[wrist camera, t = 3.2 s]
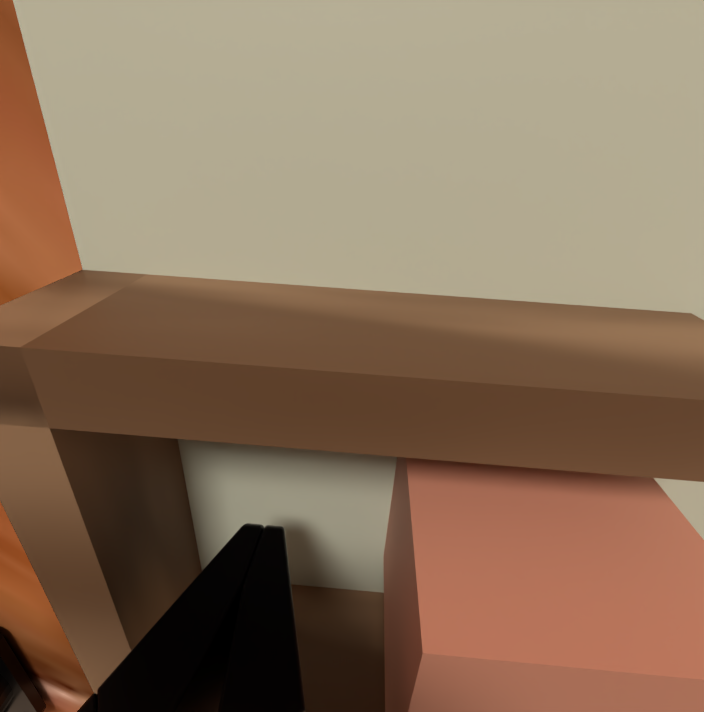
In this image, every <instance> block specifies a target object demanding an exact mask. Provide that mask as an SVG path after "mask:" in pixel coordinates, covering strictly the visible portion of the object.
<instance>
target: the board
mask: <svg viewBox="0 0 704 712" xmlns="http://www.w3.org/2000/svg"><path fill="white" fill-rule="evenodd" d="M13 2H14V6H15V10H16V14H17V17H18V21H19V25H20V29H21V33H22V37H23V41H24V44H25V48H26V52H27V56H28V60H29V64H30V68H31V71H32V75H33V79H34V83H35V87H36V91H37V95H38V98H39V102H40V106H41V110H42V114H43V118H44V122H45V125H46V129H47V133H48V137H49V141H50V145H51V149H52V152H53V156H54V160H55V164H56V168H57V172H58V176H59V179H60V183H61V187H62V191H63V195H64V199H65V203H66V206H67V210H68V214H69V218H70V222H71V226H72V230H73V233H74V237H75V241H76V245H77V249H78V253H79V257H80V260H81V264H82V268H83V270H94V271H108V272H122V273H136V274H150V275H164V276H178V277H192V278H206V279H220V280H233V281H247V282H261V283H275V284H289V285H303V286H317V287H331V288H345V289H359V290H373V291H387V292H401V293H415V294H429V295H443V296H457V297H471V298H485V299H499V300H513V301H527V302H541V303H555V304H569V305H583V306H597V307H611V308H625V309H639V310H653V311H667V312H681V313H692V314H694V315H695V316H697V317H699V318H701V319H703V320H704V0H13ZM178 444H179V450H180V455H181V461H182V466H183V471H184V477H185V482H186V488H187V493H188V498H189V504H190V509H191V515H192V520H193V525H194V531H195V536H196V542H197V547H198V552H199V558H200V563H201V569H202V570H203V569H204V568H205V567H206V566H207V565H208V564H209V563H210V561H211V560H212V559H213V558H214V557H215V556H216V555H217V554H218V552H219V551H220V550H221V549H222V548H223V547H224V546H225V545H226V543H227V542H228V541H229V540H230V539H231V538H232V537H233V536H234V534H235V533H236V532H237V531H238V530H239V529H240V528H241V527H242V526H243V525H244V524H246V523H251V524H261V525H263V526H264V527H265V526H266V525H274V526H282V527H284V530H285V537H286V546H287V554H288V563H289V572H290V580H291V584H294V585H305V586H316V587H327V588H338V589H349V590H360V591H371V592H382V593H384V559H383V556H384V549H385V542H386V534H387V527H388V520H389V513H390V506H391V498H392V491H393V484H394V477H395V470H396V462H397V457H393V456H381V455H369V454H356V453H344V452H332V451H320V450H308V449H296V448H283V447H271V446H259V445H247V444H235V443H222V442H210V441H198V440H186V439H178ZM654 479H655V481H656V482H657V483H658V484H659V485H660V487H661V488H662V489H663V490H664V492H665V493H666V494H667V495H668V497H669V498H670V499H671V500H672V501H673V503H674V504H675V505H676V506H677V508H678V509H679V510H680V511H681V513H682V514H683V515H684V516H685V517H686V519H687V520H688V521H689V522H690V524H691V525H692V526H693V527H694V529H695V530H696V531H697V532H698V533H699V535H700V536H701V537H702V538H703V540H704V482H697V481H685V480H673V479H661V478H654Z"/></svg>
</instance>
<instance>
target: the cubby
mask: <svg viewBox="0 0 704 712" xmlns="http://www.w3.org/2000/svg"><path fill="white" fill-rule="evenodd" d="M178 439H186V440H198V441H210V442H222V443H235V444H247V445H259V446H271V447H283V448H296V449H308V450H320V451H332V452H344V453H356V454H369V455H381V456H393V457H405V458H417V459H429V460H442V461H454V462H466V463H478V464H490V465H503V466H515V467H527V468H539V469H551V470H563V471H576V472H588V473H600V474H612V475H624V476H636V477H649V478H661V479H673V480H685V481H697V482H704V320H703V319H701V318H699V317H697V316H695V315H694V314H692V313H681V312H667V311H653V310H639V309H625V308H611V307H597V306H583V305H569V304H555V303H541V302H527V301H513V300H499V299H485V298H471V297H457V296H443V295H429V294H415V293H401V292H387V291H373V290H359V289H345V288H331V287H317V286H303V285H289V284H275V283H261V282H247V281H233V280H220V279H206V278H192V277H178V276H164V275H150V274H136V273H122V272H108V271H94V270H81V271H79V272H77V273H74V274H72V275H70V276H67V277H65V278H63V279H60V280H58V281H56V282H54V283H51V284H49V285H47V286H44V287H42V288H40V289H37V290H35V291H33V292H31V293H28V294H26V295H24V296H21V297H19V298H17V299H15V300H12V301H10V302H8V303H5V304H3V305H1V306H0V501H1V503H2V505H3V507H4V509H5V512H6V514H7V516H8V518H9V520H10V522H11V524H12V526H13V528H14V530H15V532H16V534H17V536H18V538H19V540H20V542H21V544H22V546H23V548H24V550H25V553H26V555H27V557H28V559H29V561H30V563H31V565H32V567H33V569H34V571H35V573H36V575H37V577H38V579H39V581H40V583H41V585H42V587H43V589H44V592H45V594H46V596H47V598H48V600H49V602H50V604H51V606H52V608H53V610H54V612H55V614H56V616H57V618H58V620H59V622H60V624H61V626H62V628H63V630H64V633H65V635H66V637H67V639H68V641H69V643H70V645H71V647H72V649H73V651H74V653H75V655H76V657H77V659H78V661H79V663H80V665H81V667H82V669H83V671H84V674H85V676H86V678H87V680H88V682H89V684H90V686H91V688H92V690H93V692H94V693H96V694H97V690H98V688H99V687H100V686H101V684H102V683H103V682H104V681H105V680H106V679H107V678H108V676H109V675H110V674H111V673H112V672H113V671H114V670H115V669H116V667H117V666H118V665H119V664H120V663H121V662H122V661H123V660H124V658H125V657H126V656H127V655H128V654H129V653H130V652H131V651H132V649H133V648H134V647H135V646H136V645H137V644H138V643H139V642H140V640H141V639H142V638H143V637H144V636H145V635H146V634H147V633H148V631H149V630H150V629H151V628H152V627H153V626H154V625H155V623H156V622H157V621H158V620H159V619H160V618H161V617H162V616H163V614H164V613H165V612H166V611H167V610H168V609H169V608H170V607H171V605H172V604H173V603H174V602H175V601H176V600H177V599H178V598H179V596H180V595H181V594H182V593H183V592H184V591H185V590H186V589H187V587H188V586H189V585H190V584H191V583H192V582H193V581H194V579H195V578H196V577H197V576H198V575H199V574H200V573H201V572H202V569H201V563H200V558H199V552H198V547H197V542H196V536H195V531H194V525H193V520H192V515H191V509H190V504H189V498H188V493H187V488H186V482H185V477H184V471H183V466H182V461H181V455H180V450H179V444H178ZM291 589H292V597H293V606H294V615H295V623H296V632H297V641H298V649H299V658H300V667H301V675H302V684H303V692H304V701H305V712H385V654H384V593H382V592H371V591H360V590H349V589H338V588H327V587H316V586H305V585H294V584H291Z"/></svg>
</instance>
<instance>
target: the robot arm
mask: <svg viewBox="0 0 704 712" xmlns="http://www.w3.org/2000/svg"><path fill="white" fill-rule="evenodd" d="M45 708H46V705H45V703H44V701H43V700H42V698H41V697H40V695H39V693H38V692H37V690H36V688H35V687H34V685H33V684H32V682H31V680H30V679H29V677H28V675H27V674H26V672H25V671H24V669H23V667H22V666H21V664H20V663H19V661H18V659H17V658H16V656H15V654H14V653H13V651H12V650H11V648H10V646H9V645H8V643H7V641H6V640H5V638H4V637H3V635H2V634H1V633H0V712H43V711H44V709H45ZM77 712H305V701H304V692H303V684H302V675H301V667H300V658H299V649H298V641H297V632H296V623H295V615H294V606H293V597H292V589H291V580H290V572H289V563H288V554H287V546H286V537H285V530H284V527H282V526H274V525H266V526H265V527H264V526H263V525H261V524H251V523H246V524H244V525H243V526H242V527H241V528H240V529H239V530H238V531H237V532H236V533H235V534H234V536H233V537H232V538H231V539H230V540H229V541H228V542H227V543H226V545H225V546H224V547H223V548H222V549H221V550H220V551H219V552H218V554H217V555H216V556H215V557H214V558H213V559H212V560H211V561H210V563H209V564H208V565H207V566H206V567H205V568H204V569H203V570H202V572H201V573H200V574H199V575H198V576H197V577H196V578H195V579H194V581H193V582H192V583H191V584H190V585H189V586H188V587H187V589H186V590H185V591H184V592H183V593H182V594H181V595H180V596H179V598H178V599H177V600H176V601H175V602H174V603H173V604H172V605H171V607H170V608H169V609H168V610H167V611H166V612H165V613H164V614H163V616H162V617H161V618H160V619H159V620H158V621H157V622H156V623H155V625H154V626H153V627H152V628H151V629H150V630H149V631H148V633H147V634H146V635H145V636H144V637H143V638H142V639H141V640H140V642H139V643H138V644H137V645H136V646H135V647H134V648H133V649H132V651H131V652H130V653H129V654H128V655H127V656H126V657H125V658H124V660H123V661H122V662H121V663H120V664H119V665H118V666H117V667H116V669H115V670H114V671H113V672H112V673H111V674H110V675H109V676H108V678H107V679H106V680H105V681H104V682H103V683H102V684H101V686H100V687H99V688H98V690H97V694H96V693H94V694H92V695H91V696H90V698H89V699H88V700H87V701H86V702H85V703H84V704H83V706H82V707H81V708H80V709H79V710H78V711H77Z"/></svg>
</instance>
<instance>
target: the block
mask: <svg viewBox="0 0 704 712" xmlns="http://www.w3.org/2000/svg"><path fill="white" fill-rule="evenodd" d="M383 559H384V654H385V712H704V540H703V538H702V537H701V536H700V535H699V533H698V532H697V531H696V530H695V529H694V527H693V526H692V525H691V524H690V522H689V521H688V520H687V519H686V517H685V516H684V515H683V514H682V513H681V511H680V510H679V509H678V508H677V506H676V505H675V504H674V503H673V501H672V500H671V499H670V498H669V497H668V495H667V494H666V493H665V492H664V490H663V489H662V488H661V487H660V485H659V484H658V483H657V482H656V481H655V479H654V478H649V477H636V476H624V475H612V474H600V473H588V472H576V471H563V470H551V469H539V468H527V467H515V466H503V465H490V464H478V463H466V462H454V461H442V460H429V459H417V458H405V457H397V462H396V470H395V477H394V484H393V491H392V498H391V506H390V513H389V520H388V527H387V534H386V542H385V549H384V556H383Z"/></svg>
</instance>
